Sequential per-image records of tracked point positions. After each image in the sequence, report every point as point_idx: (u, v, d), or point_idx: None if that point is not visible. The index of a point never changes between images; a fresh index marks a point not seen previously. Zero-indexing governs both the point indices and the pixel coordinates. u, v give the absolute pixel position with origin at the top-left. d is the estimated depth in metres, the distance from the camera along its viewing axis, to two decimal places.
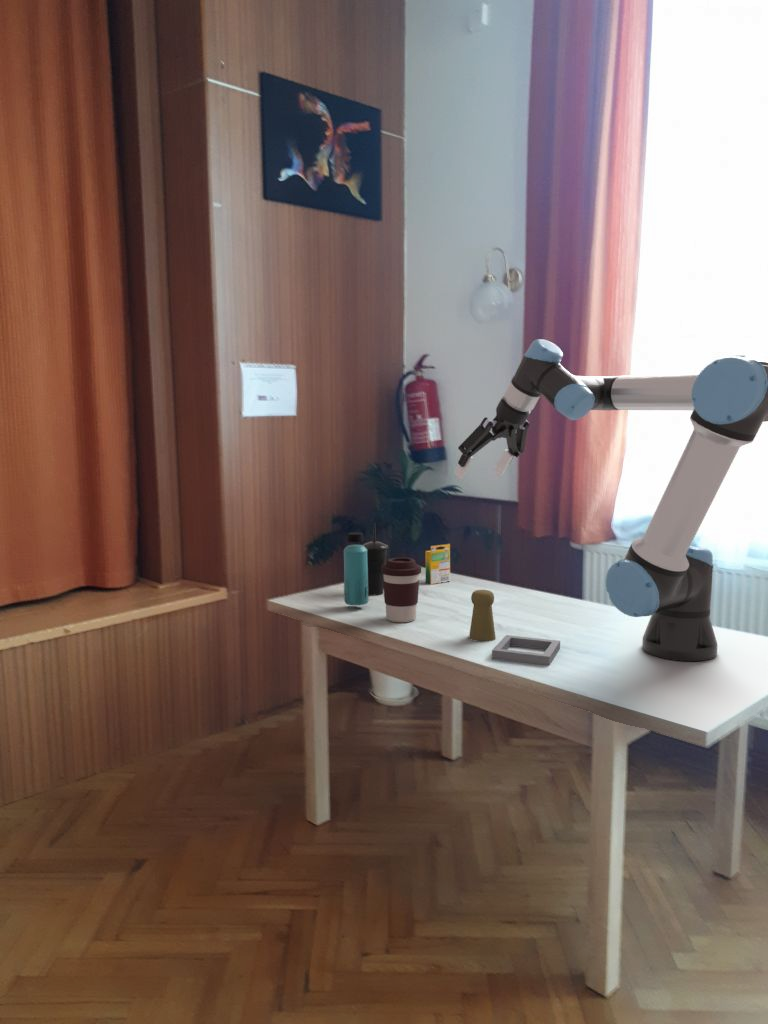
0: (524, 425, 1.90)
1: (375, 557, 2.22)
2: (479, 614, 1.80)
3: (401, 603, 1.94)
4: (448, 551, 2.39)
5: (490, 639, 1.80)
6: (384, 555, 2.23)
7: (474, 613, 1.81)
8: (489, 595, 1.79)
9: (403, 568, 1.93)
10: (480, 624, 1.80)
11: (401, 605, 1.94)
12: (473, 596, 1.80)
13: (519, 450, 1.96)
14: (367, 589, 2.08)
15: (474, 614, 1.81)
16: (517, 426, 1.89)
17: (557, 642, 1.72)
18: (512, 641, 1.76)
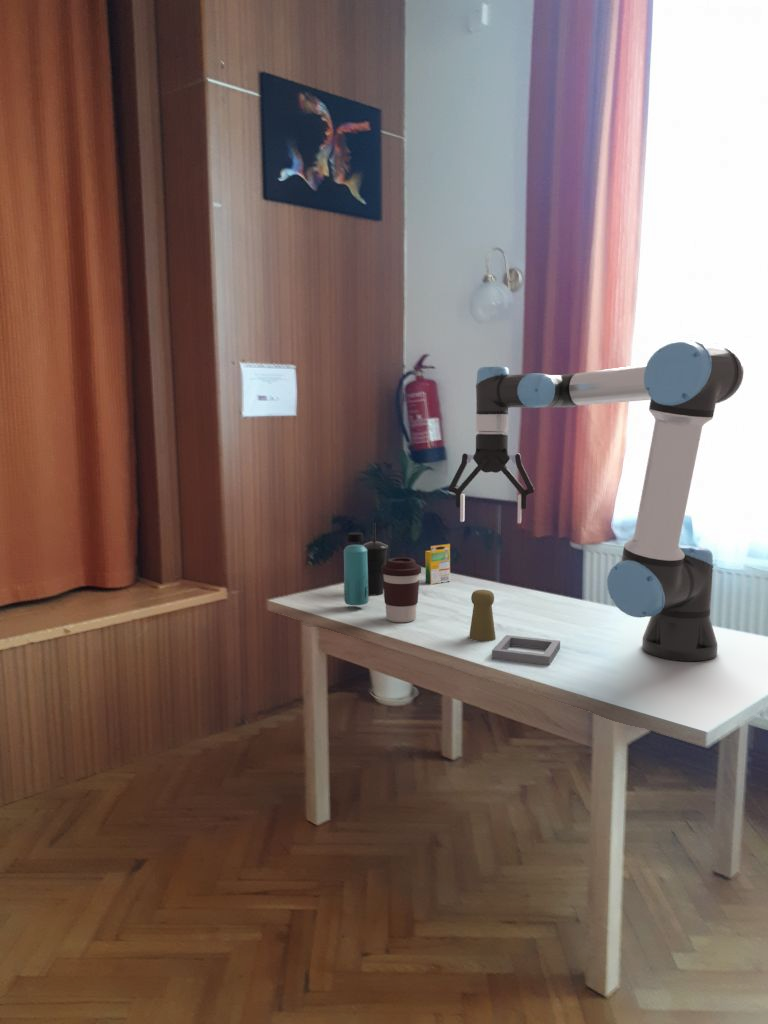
0: (515, 458, 1.88)
1: (375, 557, 2.22)
2: (479, 614, 1.80)
3: (401, 603, 1.94)
4: (448, 551, 2.39)
5: (490, 639, 1.80)
6: (384, 555, 2.23)
7: (474, 613, 1.81)
8: (489, 595, 1.79)
9: (403, 568, 1.93)
10: (480, 624, 1.80)
11: (401, 605, 1.94)
12: (473, 596, 1.80)
13: (528, 490, 1.88)
14: (367, 589, 2.08)
15: (474, 614, 1.81)
16: (503, 458, 1.88)
17: (557, 642, 1.72)
18: (512, 641, 1.76)
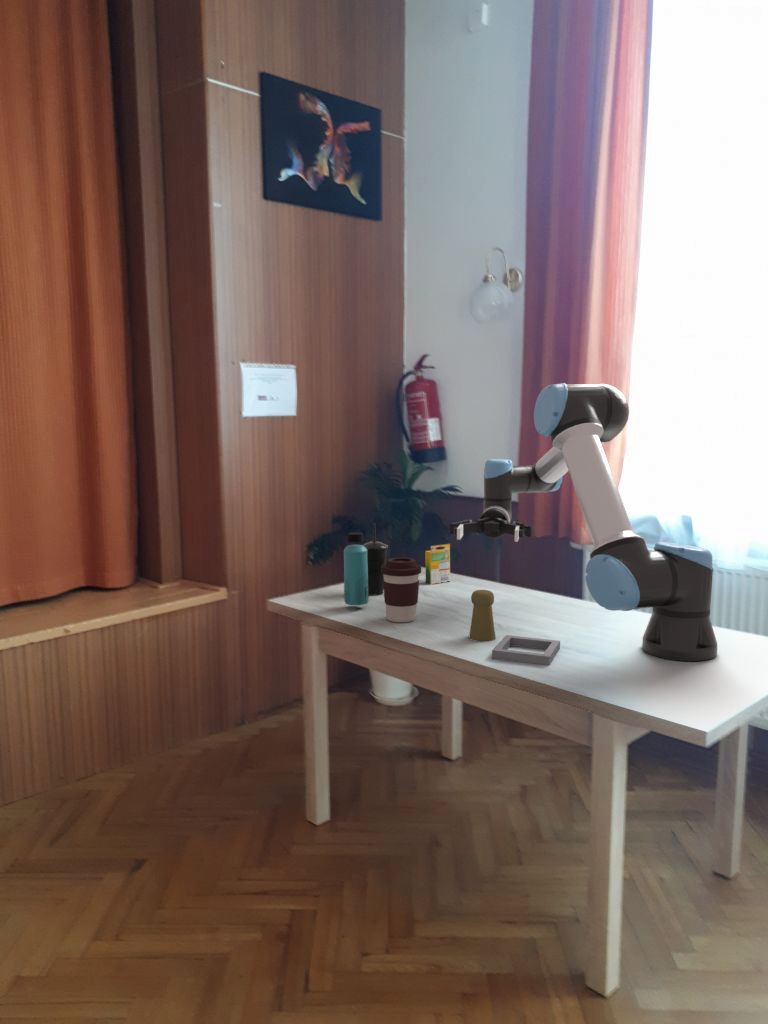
0: None
1: (375, 557, 2.22)
2: (479, 614, 1.80)
3: (401, 603, 1.94)
4: (448, 551, 2.39)
5: (490, 639, 1.80)
6: (384, 555, 2.23)
7: (474, 613, 1.81)
8: (489, 595, 1.79)
9: (403, 568, 1.93)
10: (480, 624, 1.80)
11: (401, 605, 1.94)
12: (473, 596, 1.80)
13: (526, 527, 1.95)
14: (367, 589, 2.08)
15: (474, 614, 1.81)
16: None
17: (557, 642, 1.72)
18: (512, 641, 1.76)
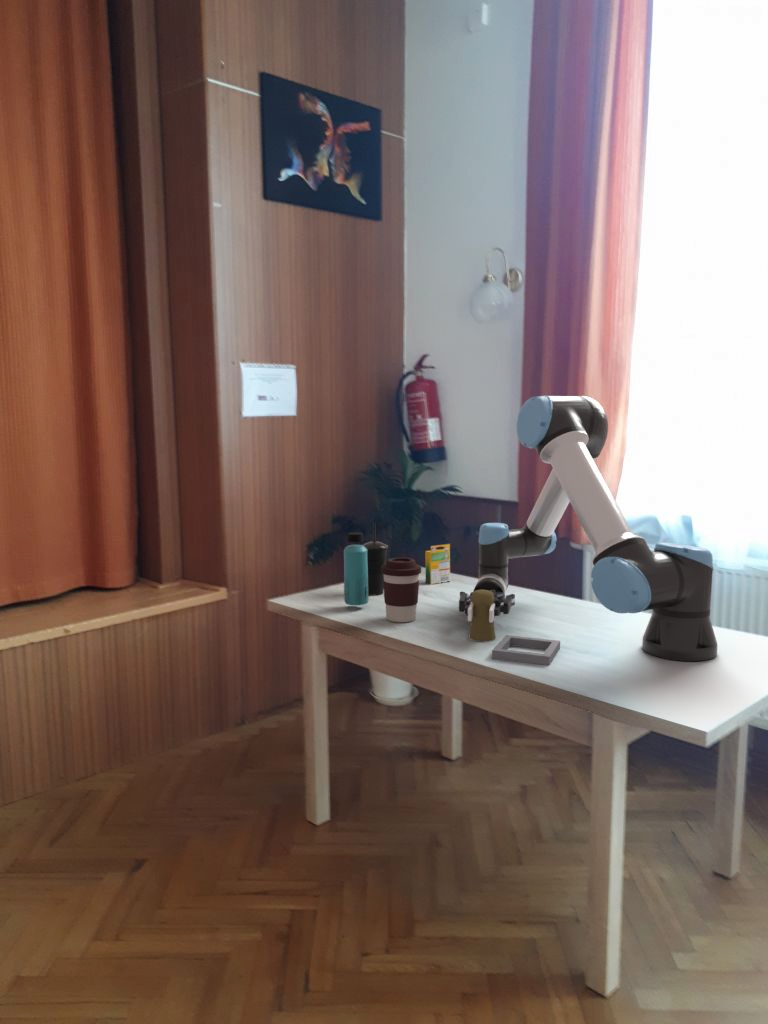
0: None
1: (375, 557, 2.22)
2: (479, 614, 1.80)
3: (401, 603, 1.94)
4: (448, 551, 2.39)
5: (490, 639, 1.80)
6: (384, 555, 2.23)
7: (474, 613, 1.81)
8: (489, 595, 1.79)
9: (403, 568, 1.93)
10: (480, 624, 1.80)
11: (401, 605, 1.94)
12: (473, 596, 1.80)
13: None
14: (367, 589, 2.08)
15: (474, 614, 1.81)
16: (499, 593, 1.93)
17: (557, 642, 1.72)
18: (512, 641, 1.76)
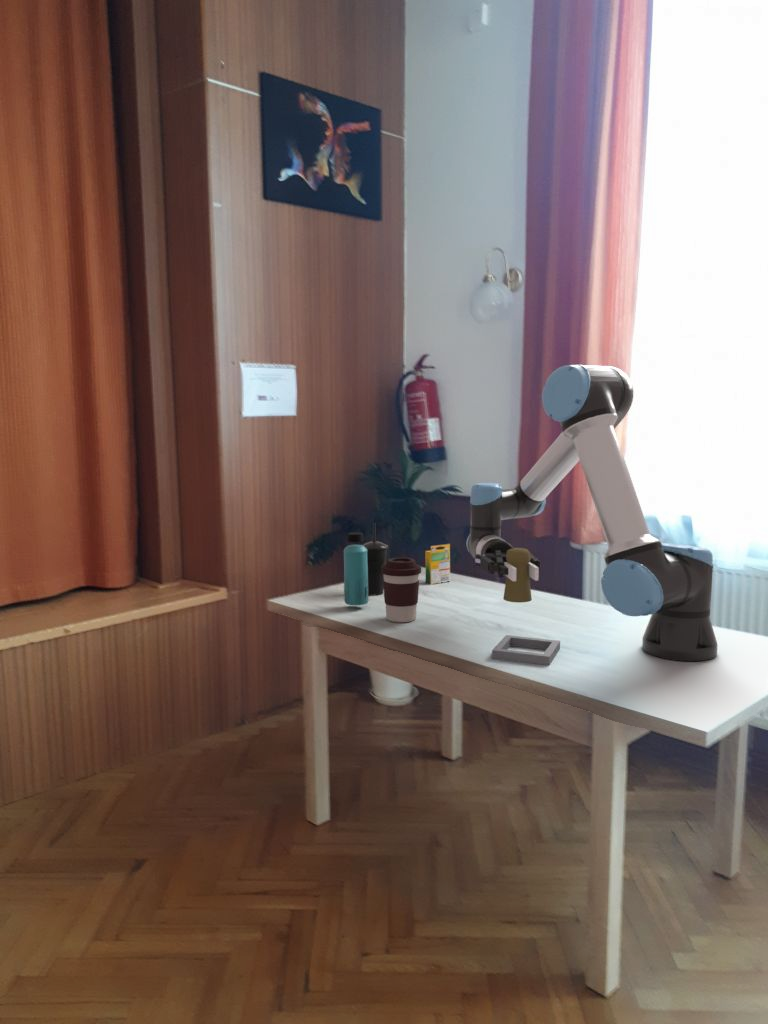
0: None
1: (375, 557, 2.22)
2: (518, 574, 1.68)
3: (401, 603, 1.94)
4: (448, 551, 2.39)
5: (529, 599, 1.69)
6: (384, 555, 2.23)
7: None
8: (528, 552, 1.69)
9: (403, 568, 1.93)
10: (520, 584, 1.68)
11: (401, 605, 1.94)
12: (511, 555, 1.68)
13: (534, 562, 1.73)
14: (367, 589, 2.08)
15: None
16: None
17: (557, 642, 1.72)
18: (512, 641, 1.76)
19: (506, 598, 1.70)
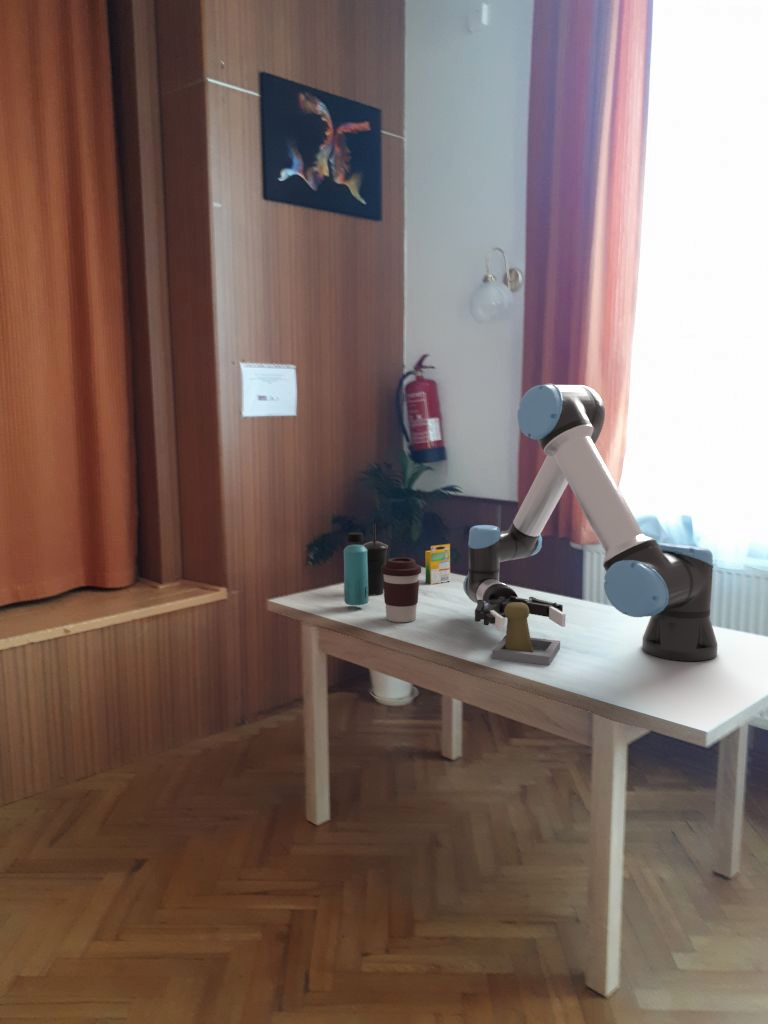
0: None
1: (375, 557, 2.22)
2: (519, 629, 1.67)
3: (401, 603, 1.94)
4: (448, 551, 2.39)
5: None
6: (384, 555, 2.23)
7: (512, 629, 1.68)
8: (526, 607, 1.67)
9: (403, 568, 1.93)
10: (521, 640, 1.67)
11: (401, 605, 1.94)
12: (510, 611, 1.67)
13: (556, 606, 1.76)
14: (367, 589, 2.08)
15: (512, 630, 1.68)
16: None
17: (557, 642, 1.72)
18: None
19: None
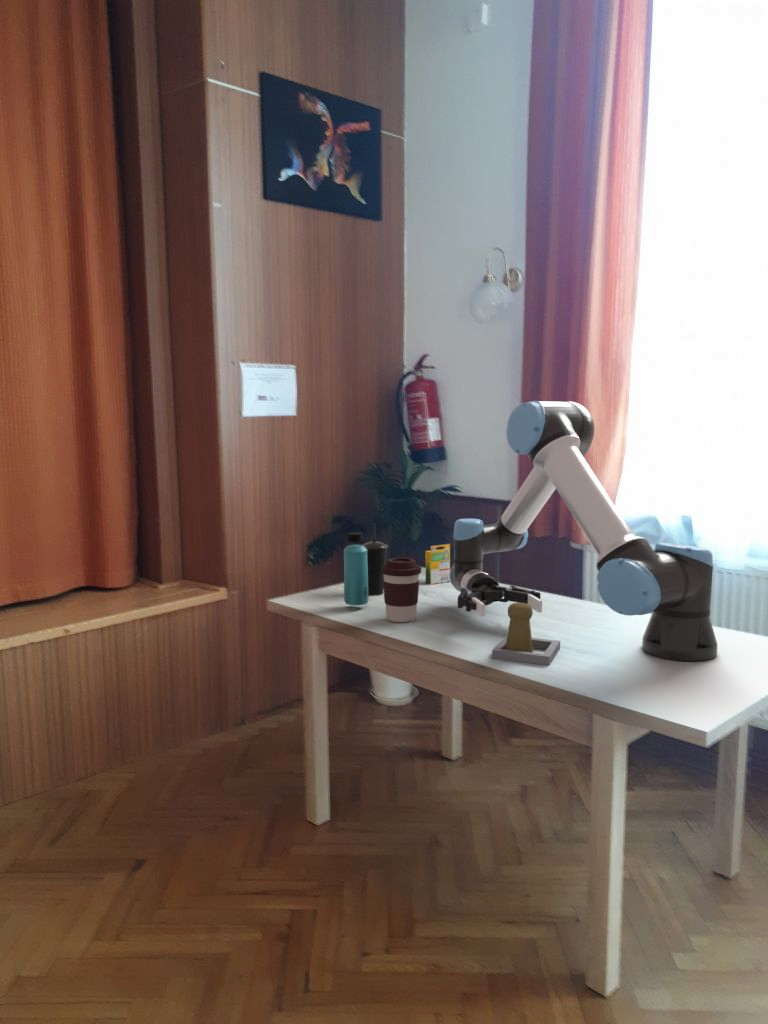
0: (510, 588, 1.94)
1: (375, 557, 2.22)
2: (521, 630, 1.67)
3: (401, 603, 1.94)
4: (448, 551, 2.39)
5: None
6: (384, 555, 2.23)
7: (514, 629, 1.68)
8: (530, 608, 1.68)
9: (403, 568, 1.93)
10: (523, 640, 1.67)
11: (401, 605, 1.94)
12: (514, 611, 1.67)
13: (535, 594, 1.87)
14: (367, 589, 2.08)
15: (515, 630, 1.68)
16: None
17: (557, 642, 1.72)
18: None
19: None
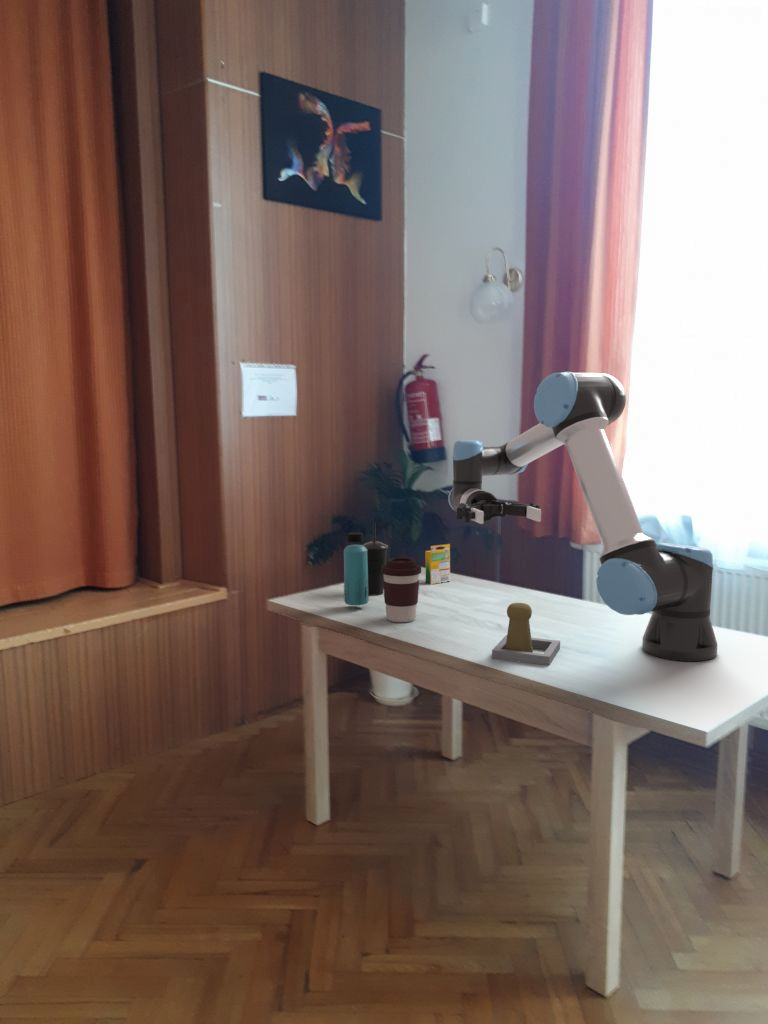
0: None
1: (375, 557, 2.22)
2: (521, 630, 1.67)
3: (401, 603, 1.94)
4: (448, 551, 2.39)
5: None
6: (384, 555, 2.23)
7: (514, 629, 1.68)
8: (529, 608, 1.68)
9: (403, 568, 1.93)
10: (523, 640, 1.67)
11: (401, 605, 1.94)
12: (513, 611, 1.67)
13: (534, 507, 1.87)
14: (367, 589, 2.08)
15: (514, 630, 1.68)
16: None
17: (557, 642, 1.72)
18: None
19: None
